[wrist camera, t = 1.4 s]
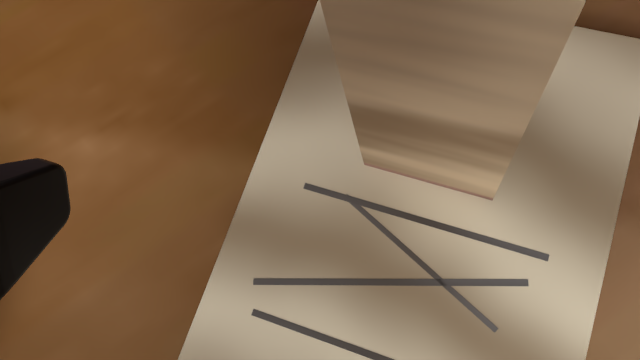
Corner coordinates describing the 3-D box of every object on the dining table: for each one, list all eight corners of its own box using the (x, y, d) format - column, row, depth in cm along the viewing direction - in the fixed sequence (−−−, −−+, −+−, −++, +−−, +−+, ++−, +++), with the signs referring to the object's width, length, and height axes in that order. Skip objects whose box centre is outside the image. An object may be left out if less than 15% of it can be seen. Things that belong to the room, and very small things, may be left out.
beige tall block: (492, 200, 20) (585, 2, 9) (364, 164, 22) (306, -51, 10) (527, 73, 22) (648, -242, 10) (404, 45, 23) (392, -264, 11)
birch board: (483, 775, 17) (487, 801, 16) (104, 577, 20) (88, 588, 19) (645, 55, 22) (656, 42, 21) (330, -9, 25) (327, -24, 24)
